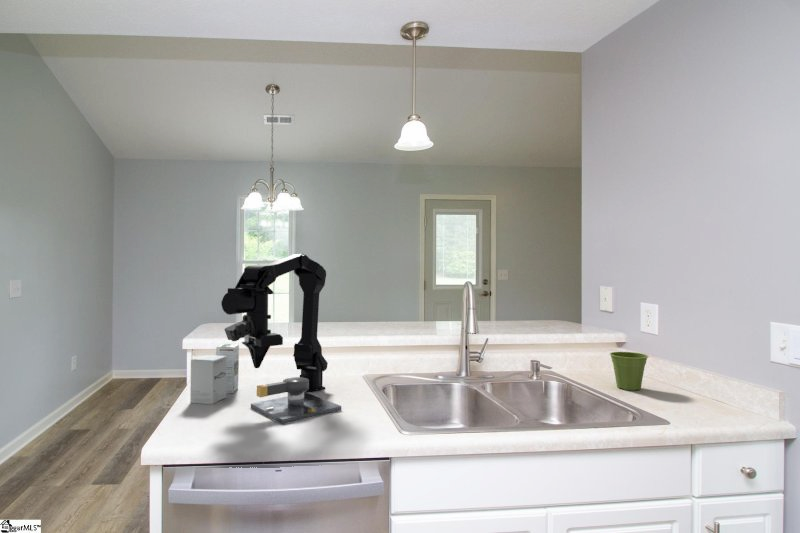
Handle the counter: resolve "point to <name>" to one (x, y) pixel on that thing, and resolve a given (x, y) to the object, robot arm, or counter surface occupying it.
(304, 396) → the base
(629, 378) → the plant pot
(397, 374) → the counter surface
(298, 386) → the handle
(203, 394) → the supplement box
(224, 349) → the syrup box
